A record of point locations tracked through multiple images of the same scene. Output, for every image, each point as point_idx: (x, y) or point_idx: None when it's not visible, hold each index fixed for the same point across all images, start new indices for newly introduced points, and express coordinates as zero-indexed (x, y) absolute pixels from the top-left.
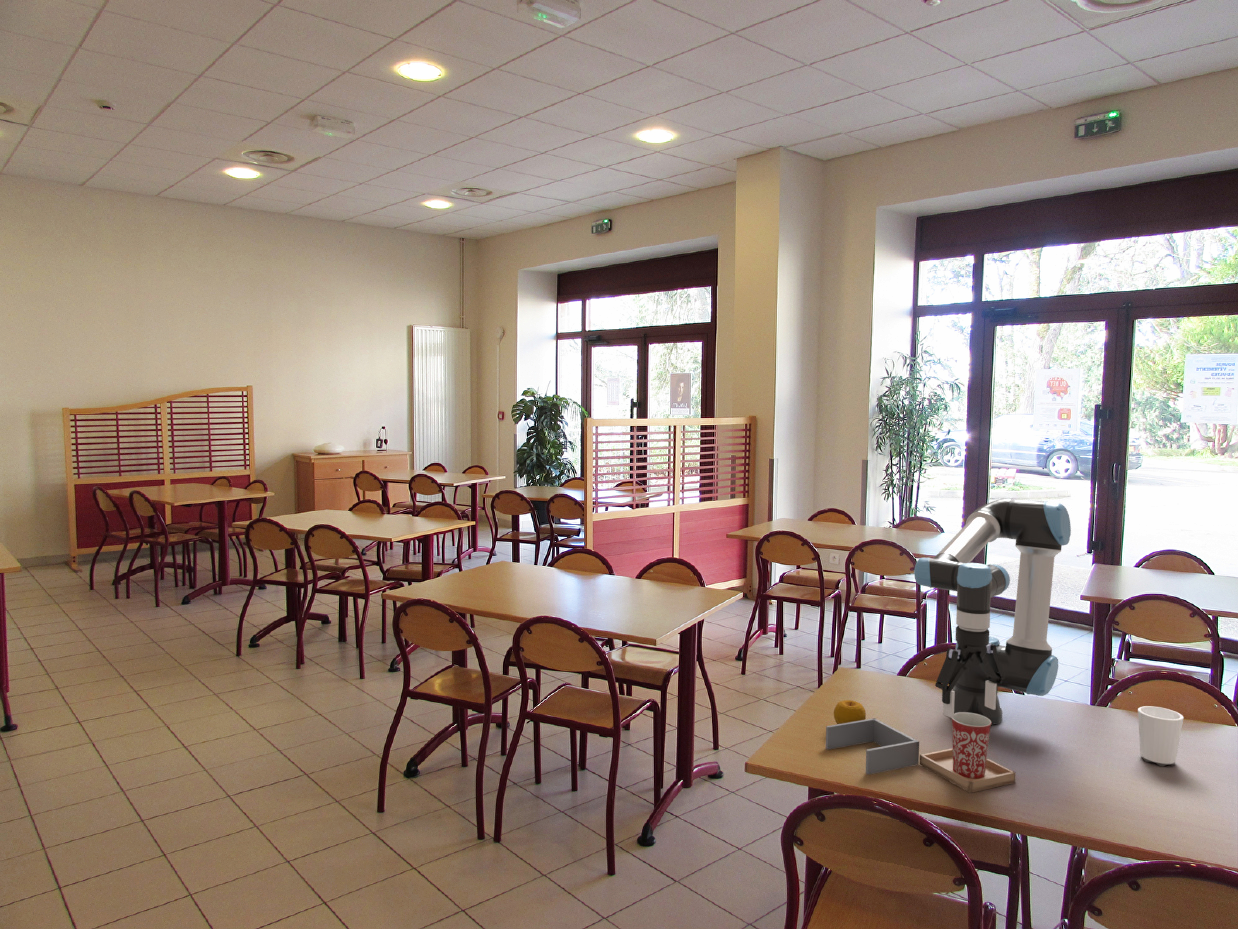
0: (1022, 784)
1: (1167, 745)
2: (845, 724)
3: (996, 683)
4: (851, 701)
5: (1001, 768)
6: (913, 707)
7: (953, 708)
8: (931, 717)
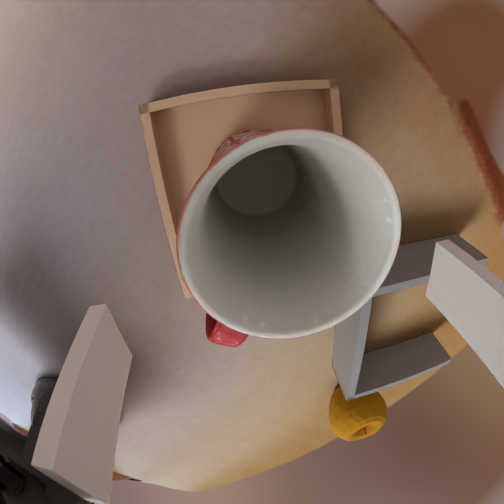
0: (132, 95)
1: None
2: (419, 372)
3: (30, 465)
4: (353, 438)
5: (157, 148)
6: (165, 440)
7: (476, 269)
8: (152, 418)
